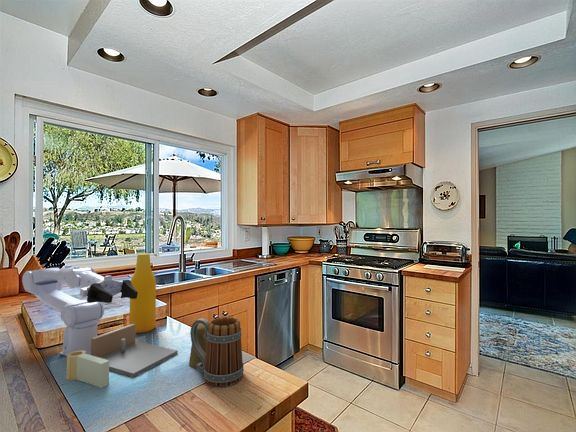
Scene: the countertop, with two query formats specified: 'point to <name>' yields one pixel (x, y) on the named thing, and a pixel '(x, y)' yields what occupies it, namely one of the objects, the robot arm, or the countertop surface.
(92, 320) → the robot arm
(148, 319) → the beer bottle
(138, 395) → the countertop surface
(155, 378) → the countertop surface
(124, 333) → the cabinet base
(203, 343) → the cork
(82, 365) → the door
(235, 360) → the mug
